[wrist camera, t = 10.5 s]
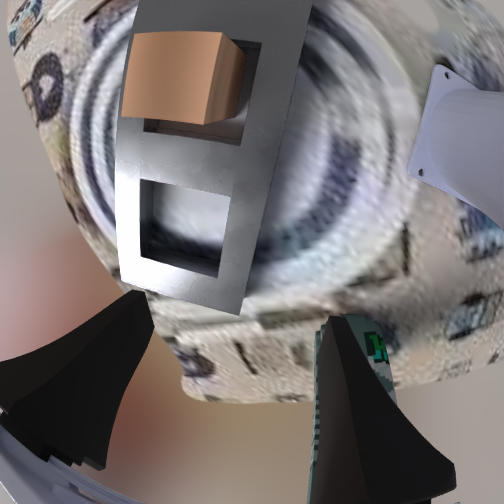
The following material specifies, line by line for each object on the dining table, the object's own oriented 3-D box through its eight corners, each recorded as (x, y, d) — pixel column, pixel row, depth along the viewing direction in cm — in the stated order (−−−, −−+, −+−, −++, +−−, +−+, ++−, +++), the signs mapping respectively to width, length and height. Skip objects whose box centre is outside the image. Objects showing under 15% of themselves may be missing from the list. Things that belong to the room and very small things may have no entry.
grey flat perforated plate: (329, -72, 6) (332, -86, 4) (243, 298, 22) (239, 315, 20) (187, -78, 6) (177, -89, 4) (132, 267, 22) (121, 280, 20)
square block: (248, 56, 13) (222, 32, 8) (235, 117, 15) (203, 124, 10) (185, 51, 13) (134, 33, 8) (174, 108, 15) (121, 116, 10)
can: (372, 357, 24) (385, 501, 11) (312, 359, 25) (303, 508, 12) (386, 313, 21) (418, 487, 8) (317, 315, 22) (312, 502, 9)
